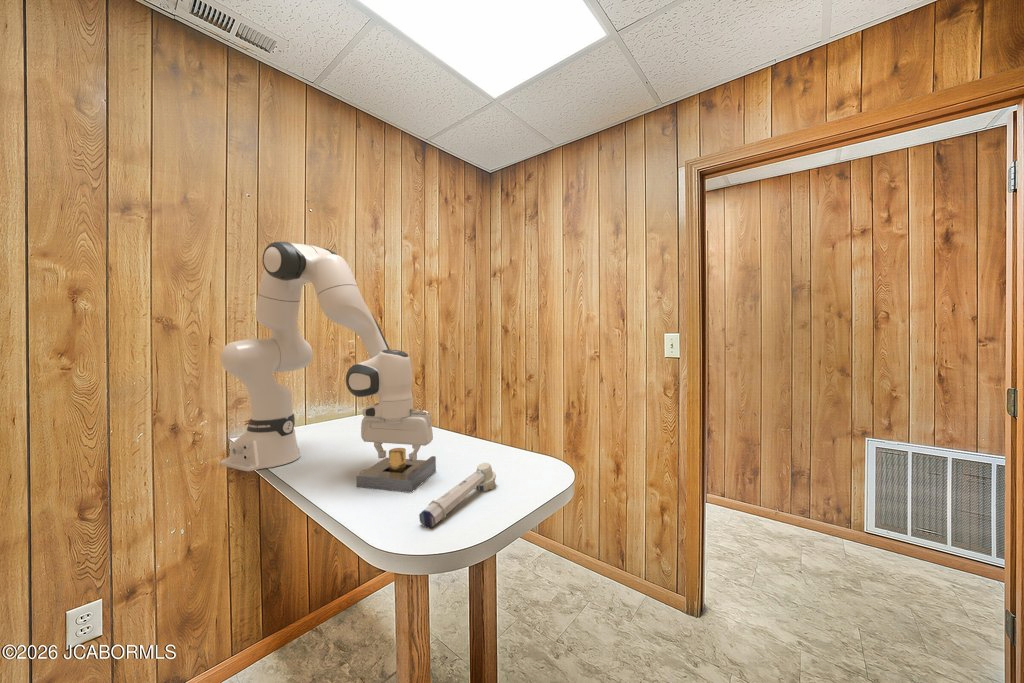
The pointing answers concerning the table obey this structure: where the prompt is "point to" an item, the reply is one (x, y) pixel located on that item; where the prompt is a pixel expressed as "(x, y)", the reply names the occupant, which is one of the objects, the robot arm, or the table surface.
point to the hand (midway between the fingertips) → (397, 458)
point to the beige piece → (458, 495)
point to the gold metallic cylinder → (397, 460)
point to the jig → (396, 475)
